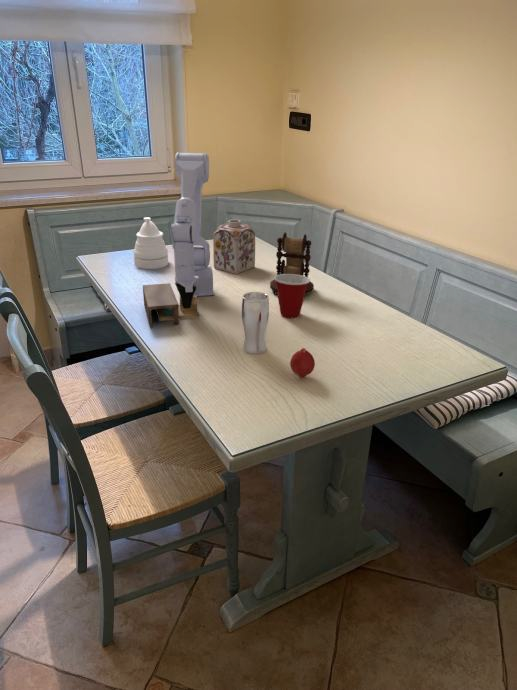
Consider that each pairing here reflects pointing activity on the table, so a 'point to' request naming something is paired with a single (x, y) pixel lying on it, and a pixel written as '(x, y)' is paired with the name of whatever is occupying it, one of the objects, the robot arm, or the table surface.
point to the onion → (302, 363)
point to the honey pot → (150, 247)
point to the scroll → (293, 259)
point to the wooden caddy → (160, 300)
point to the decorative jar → (234, 247)
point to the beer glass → (255, 321)
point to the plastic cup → (291, 293)
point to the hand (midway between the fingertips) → (186, 306)
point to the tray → (183, 313)
